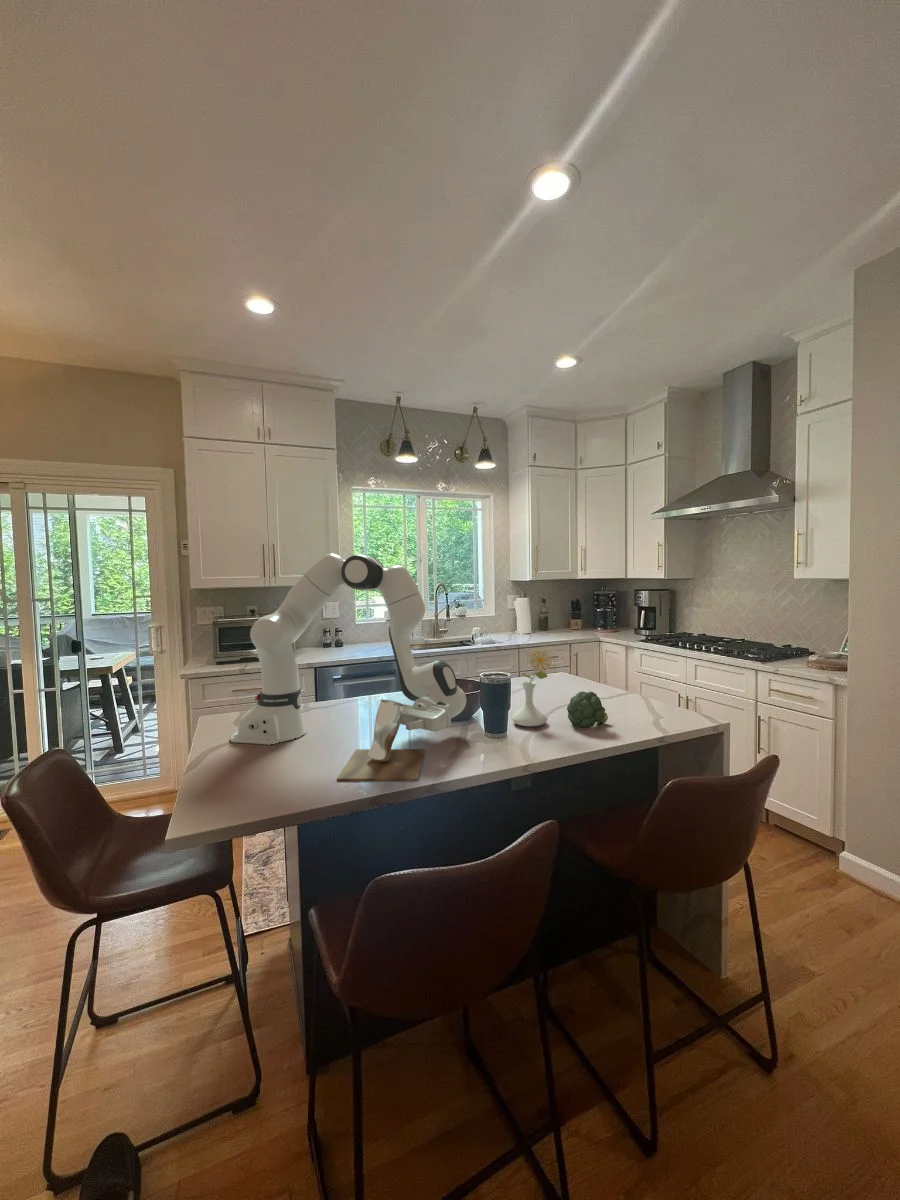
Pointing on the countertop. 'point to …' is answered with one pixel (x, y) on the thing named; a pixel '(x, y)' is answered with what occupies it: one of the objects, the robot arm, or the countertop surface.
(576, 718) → the vegetable
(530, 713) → the flower in vase
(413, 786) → the countertop surface
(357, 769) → the tan wooden board
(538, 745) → the countertop surface
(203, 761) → the countertop surface
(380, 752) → the beer glass
